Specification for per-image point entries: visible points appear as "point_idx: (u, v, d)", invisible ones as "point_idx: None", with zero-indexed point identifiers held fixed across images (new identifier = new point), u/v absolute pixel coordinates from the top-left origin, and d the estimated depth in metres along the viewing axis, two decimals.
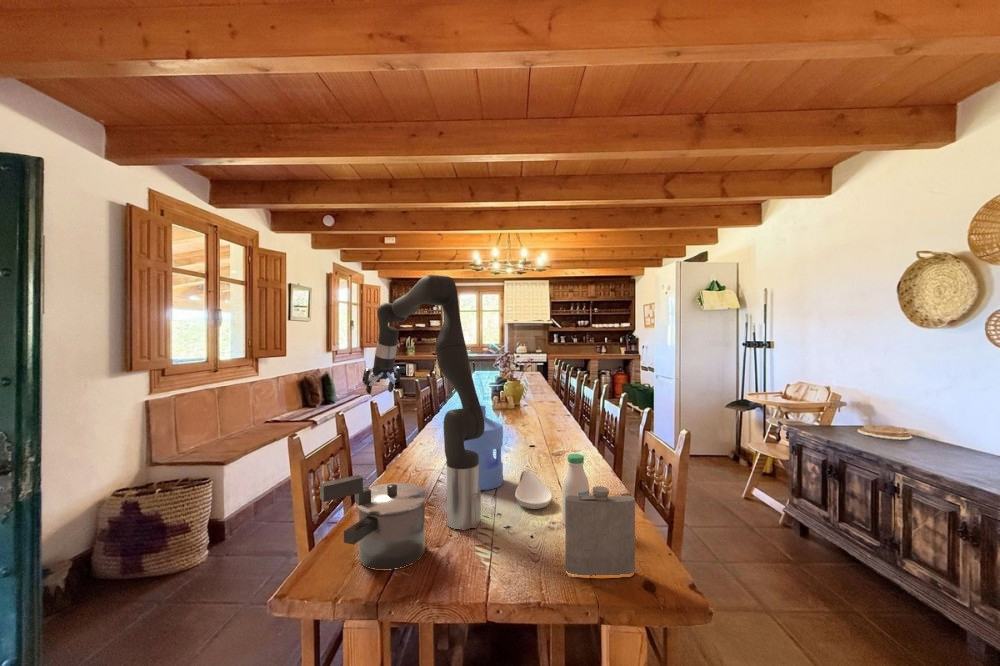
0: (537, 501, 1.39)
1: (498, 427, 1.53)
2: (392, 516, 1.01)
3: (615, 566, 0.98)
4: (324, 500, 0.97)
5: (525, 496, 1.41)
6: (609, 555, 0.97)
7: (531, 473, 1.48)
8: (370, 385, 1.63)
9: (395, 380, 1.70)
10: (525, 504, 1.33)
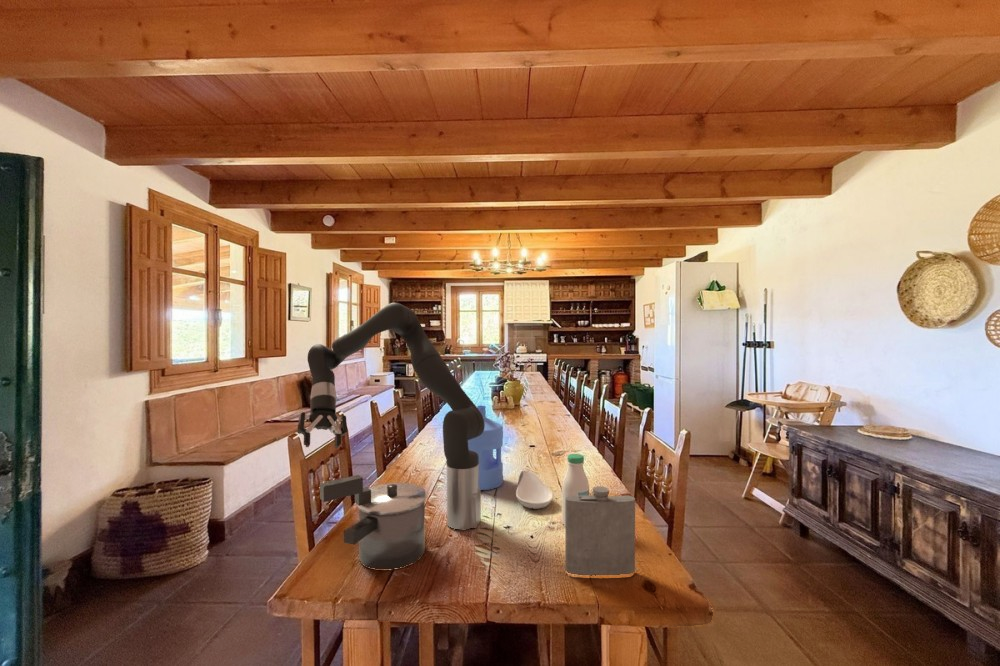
0: (538, 501, 1.39)
1: (498, 427, 1.53)
2: (392, 516, 1.01)
3: (615, 566, 0.98)
4: (324, 500, 0.97)
5: (525, 496, 1.41)
6: (609, 555, 0.97)
7: (530, 473, 1.48)
8: (308, 432, 1.30)
9: (341, 431, 1.37)
10: (526, 504, 1.33)
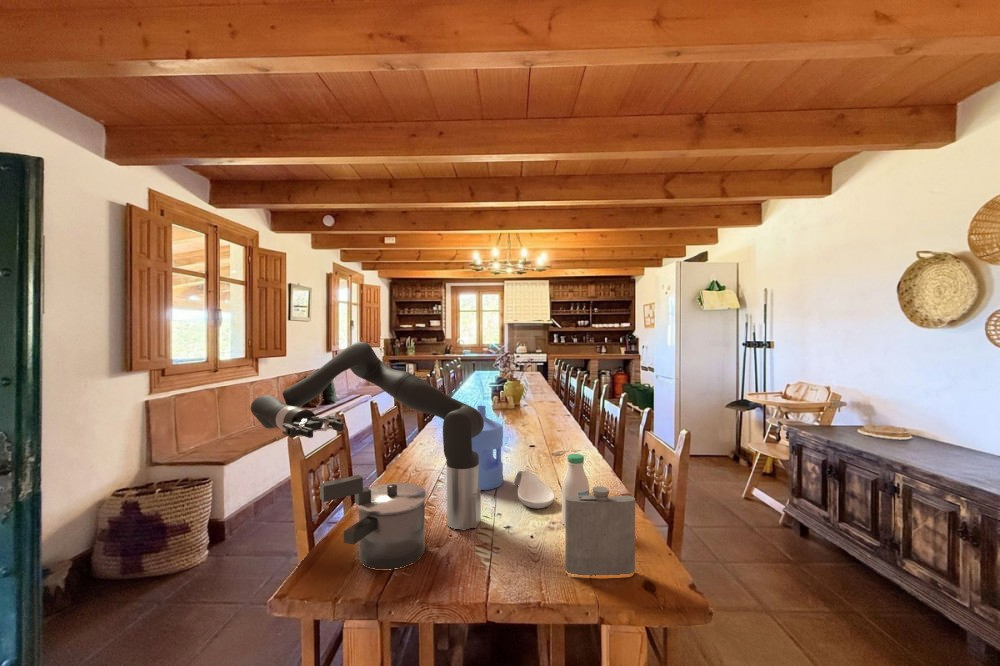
0: (539, 500, 1.39)
1: (498, 427, 1.53)
2: (392, 516, 1.01)
3: (615, 566, 0.98)
4: (324, 500, 0.97)
5: (526, 496, 1.41)
6: (609, 555, 0.97)
7: (529, 473, 1.48)
8: (302, 426, 1.12)
9: None
10: (530, 504, 1.33)
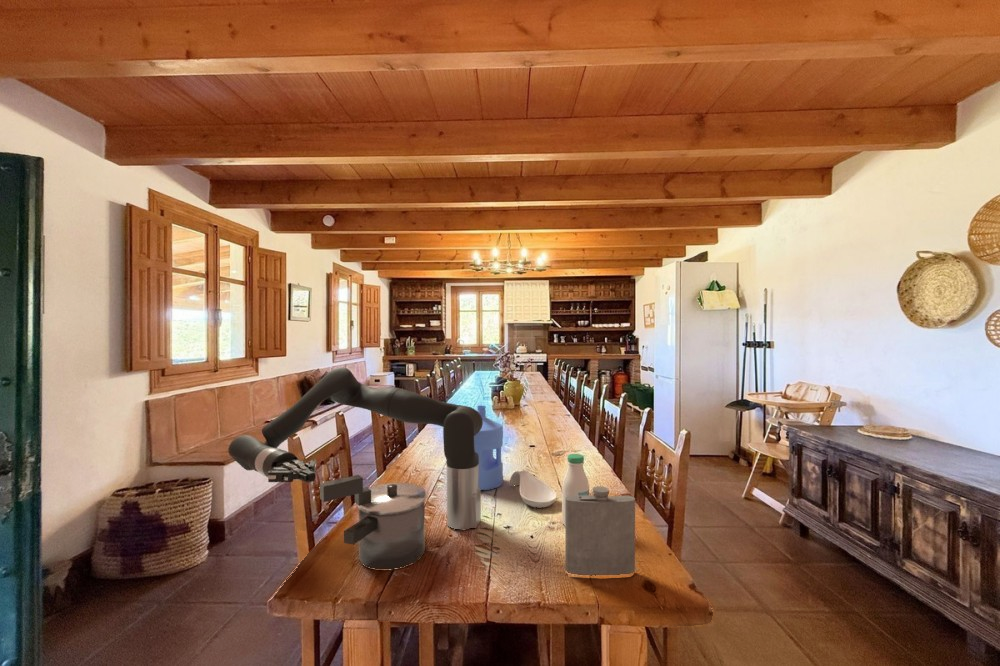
0: (540, 499, 1.40)
1: (498, 427, 1.53)
2: (392, 516, 1.01)
3: (615, 566, 0.98)
4: (324, 500, 0.97)
5: (527, 496, 1.41)
6: (609, 555, 0.97)
7: (526, 473, 1.49)
8: (301, 470, 1.07)
9: None
10: (535, 504, 1.33)
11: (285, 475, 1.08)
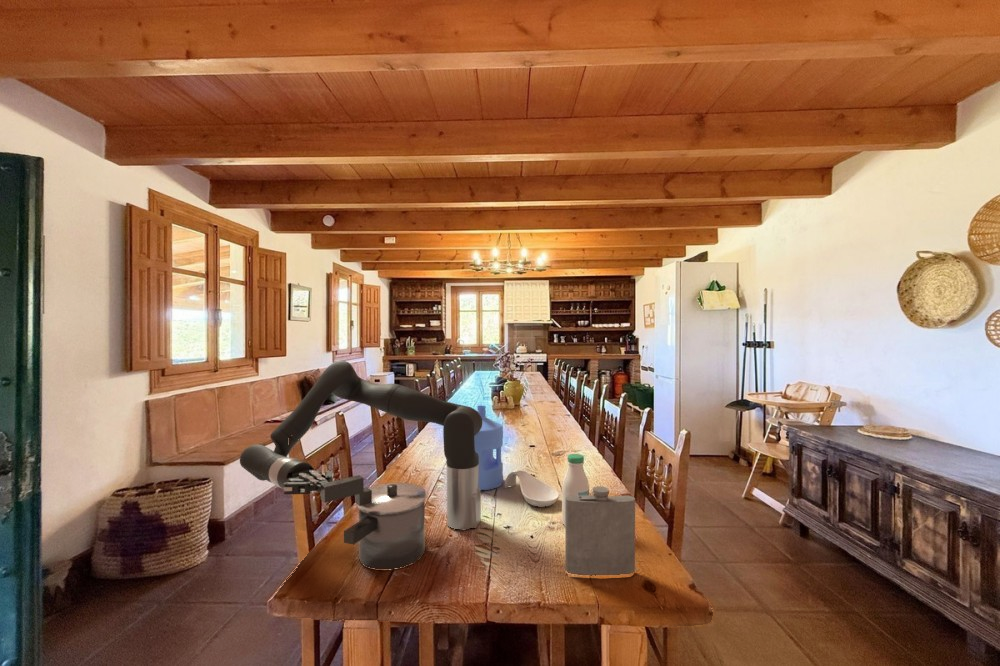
0: (542, 498, 1.41)
1: (498, 427, 1.53)
2: (392, 516, 1.01)
3: (615, 566, 0.98)
4: (325, 501, 0.97)
5: (529, 496, 1.41)
6: (609, 555, 0.97)
7: (523, 473, 1.48)
8: (318, 481, 1.02)
9: None
10: (541, 503, 1.34)
11: (301, 486, 1.03)
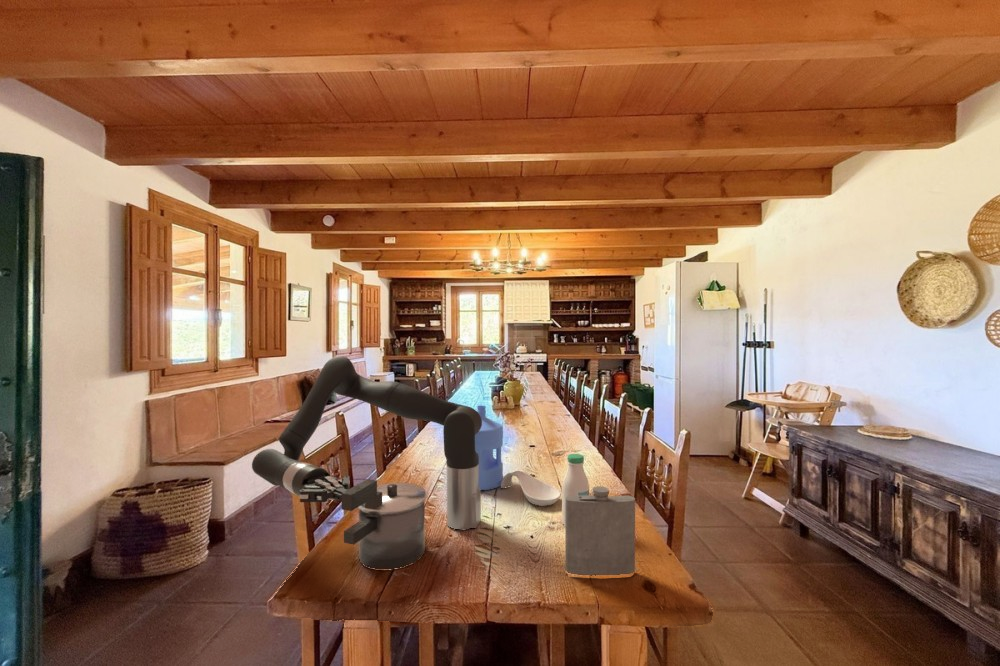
0: (542, 498, 1.42)
1: (498, 427, 1.53)
2: (392, 516, 1.01)
3: (615, 566, 0.98)
4: (351, 509, 0.92)
5: (530, 496, 1.41)
6: (609, 555, 0.97)
7: (521, 473, 1.48)
8: (335, 488, 0.97)
9: None
10: (545, 502, 1.34)
11: (318, 494, 0.98)
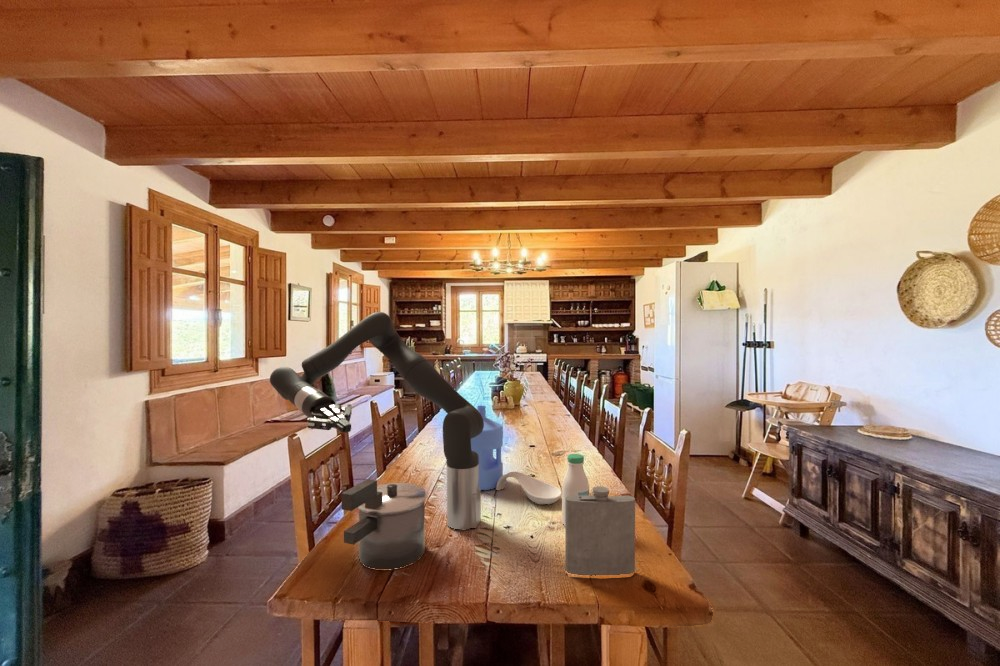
0: (543, 496, 1.43)
1: (498, 427, 1.53)
2: (392, 516, 1.01)
3: (615, 566, 0.98)
4: (351, 509, 0.92)
5: None
6: (609, 555, 0.97)
7: (518, 473, 1.48)
8: (337, 419, 1.12)
9: None
10: (550, 500, 1.36)
11: None
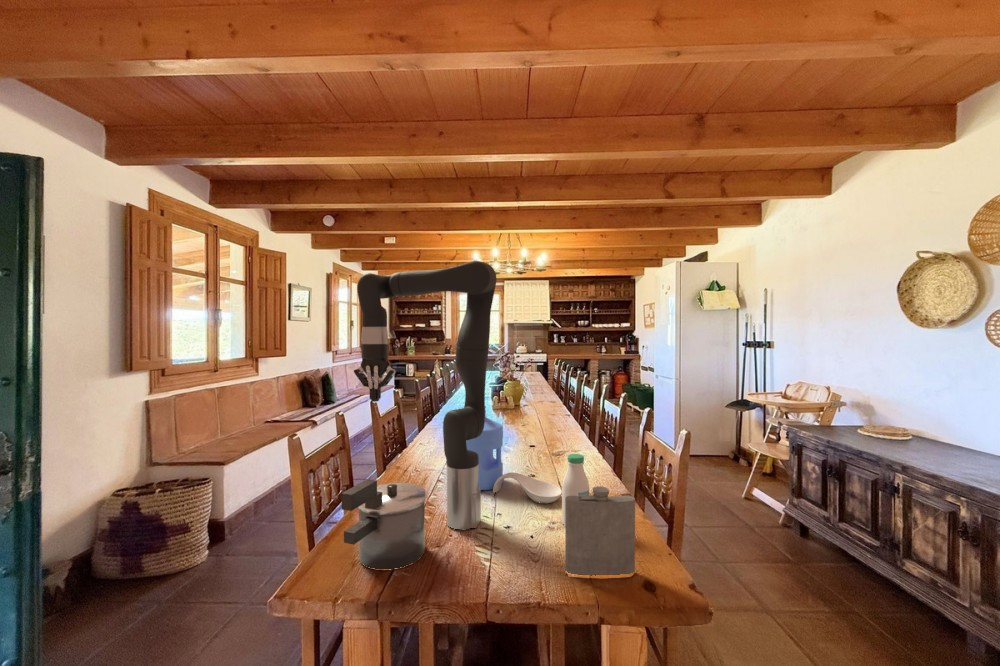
0: (542, 495, 1.44)
1: (498, 427, 1.53)
2: (392, 516, 1.01)
3: (615, 566, 0.98)
4: (351, 509, 0.92)
5: None
6: (609, 555, 0.97)
7: (515, 474, 1.47)
8: (371, 387, 1.26)
9: (379, 384, 1.26)
10: (553, 499, 1.37)
11: None
